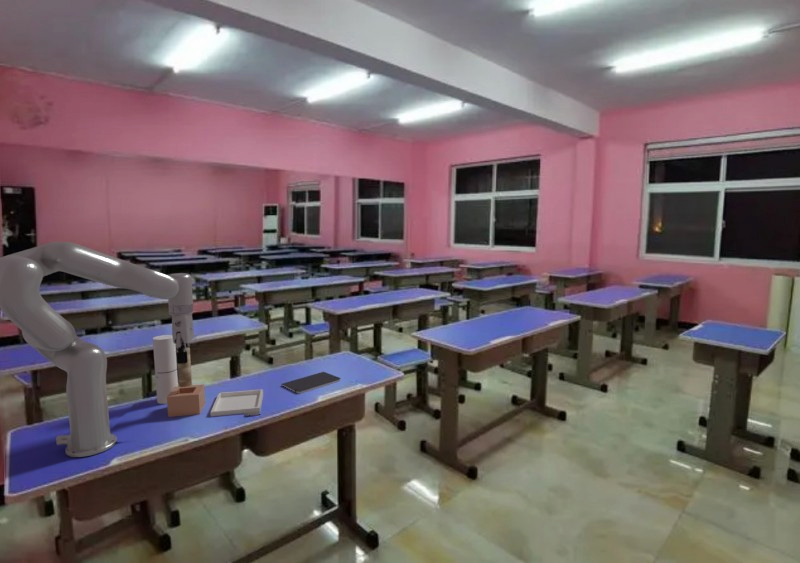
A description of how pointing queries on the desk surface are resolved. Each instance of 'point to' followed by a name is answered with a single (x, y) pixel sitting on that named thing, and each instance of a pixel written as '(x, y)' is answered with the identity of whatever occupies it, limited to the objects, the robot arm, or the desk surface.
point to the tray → (238, 403)
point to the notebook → (311, 382)
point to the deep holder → (186, 400)
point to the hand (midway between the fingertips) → (184, 360)
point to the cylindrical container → (165, 366)
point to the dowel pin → (185, 371)
